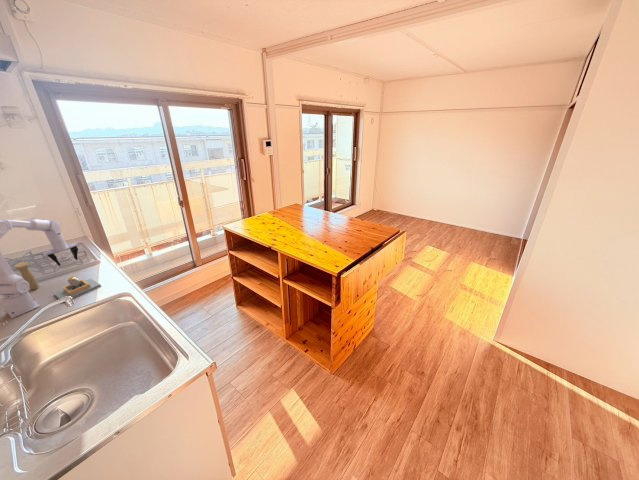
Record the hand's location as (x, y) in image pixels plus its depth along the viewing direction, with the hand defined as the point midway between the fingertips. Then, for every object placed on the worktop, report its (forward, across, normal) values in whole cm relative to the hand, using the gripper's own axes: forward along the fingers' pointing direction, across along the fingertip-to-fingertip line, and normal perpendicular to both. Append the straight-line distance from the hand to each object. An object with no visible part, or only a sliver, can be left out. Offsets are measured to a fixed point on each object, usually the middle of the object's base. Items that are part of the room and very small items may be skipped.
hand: (68, 262), depth 144 cm
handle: (+10, +16, -4) cm, 19 cm away
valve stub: (+8, +5, +20) cm, 22 cm away
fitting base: (+9, +5, +20) cm, 23 cm away
